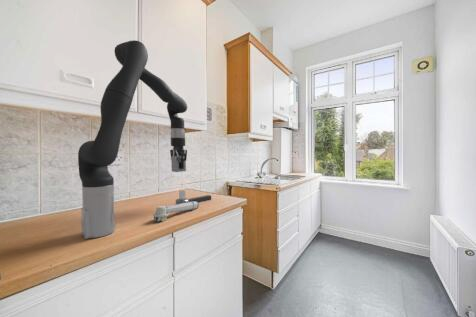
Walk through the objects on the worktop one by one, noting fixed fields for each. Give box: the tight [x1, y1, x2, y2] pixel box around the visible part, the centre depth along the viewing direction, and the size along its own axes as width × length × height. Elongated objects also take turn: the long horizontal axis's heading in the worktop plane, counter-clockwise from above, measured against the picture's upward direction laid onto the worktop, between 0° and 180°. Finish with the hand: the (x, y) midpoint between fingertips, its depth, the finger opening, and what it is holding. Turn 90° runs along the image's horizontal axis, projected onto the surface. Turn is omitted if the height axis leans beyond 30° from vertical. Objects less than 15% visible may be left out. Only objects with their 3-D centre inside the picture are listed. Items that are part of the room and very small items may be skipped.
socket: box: [170, 156, 187, 173], centre depth 108 cm, size 5×5×8 cm
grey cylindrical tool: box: [152, 201, 200, 222], centre depth 94 cm, size 5×7×25 cm
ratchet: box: [175, 189, 212, 205], centre depth 116 cm, size 22×7×8 cm, turn 136°
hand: (178, 168), depth 109 cm, fingers closed on socket, 5 cm apart
